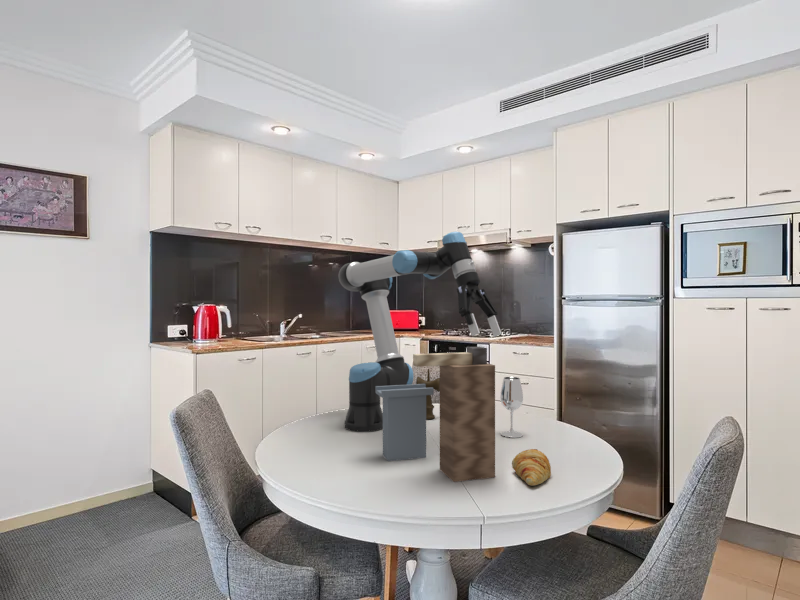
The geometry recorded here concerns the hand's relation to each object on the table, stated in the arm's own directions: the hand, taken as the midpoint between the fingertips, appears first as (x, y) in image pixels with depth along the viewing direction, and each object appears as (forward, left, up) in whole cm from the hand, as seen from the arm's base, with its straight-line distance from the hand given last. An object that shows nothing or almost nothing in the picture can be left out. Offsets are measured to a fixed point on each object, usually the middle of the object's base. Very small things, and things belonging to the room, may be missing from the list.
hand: (487, 335), depth 158 cm
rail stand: (-27, -7, -36) cm, 46 cm away
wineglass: (+12, +16, -37) cm, 42 cm away
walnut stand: (-10, -22, -36) cm, 44 cm away
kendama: (-15, +41, -37) cm, 57 cm away
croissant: (+7, -23, -37) cm, 44 cm away
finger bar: (-15, -23, -6) cm, 28 cm away
